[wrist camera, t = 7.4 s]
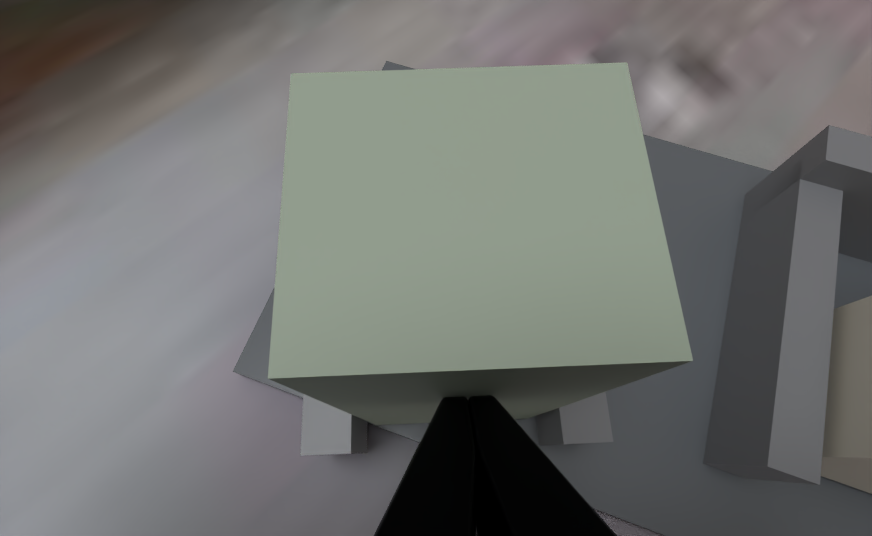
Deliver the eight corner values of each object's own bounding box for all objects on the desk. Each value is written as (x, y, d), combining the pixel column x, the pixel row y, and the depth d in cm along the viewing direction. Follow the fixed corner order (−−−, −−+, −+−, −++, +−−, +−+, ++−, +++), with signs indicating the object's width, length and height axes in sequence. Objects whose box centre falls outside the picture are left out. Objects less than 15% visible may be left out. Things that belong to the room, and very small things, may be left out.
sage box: (528, 418, 15) (693, 361, 5) (376, 425, 15) (268, 378, 5) (514, 290, 16) (627, 61, 7) (376, 295, 16) (290, 73, 7)
